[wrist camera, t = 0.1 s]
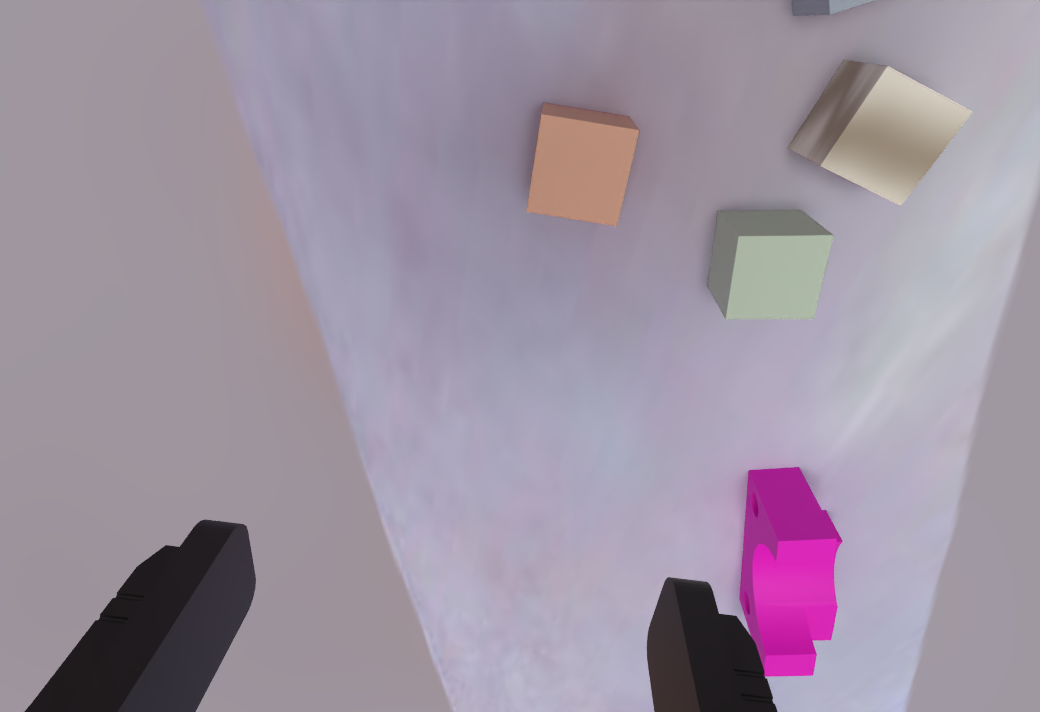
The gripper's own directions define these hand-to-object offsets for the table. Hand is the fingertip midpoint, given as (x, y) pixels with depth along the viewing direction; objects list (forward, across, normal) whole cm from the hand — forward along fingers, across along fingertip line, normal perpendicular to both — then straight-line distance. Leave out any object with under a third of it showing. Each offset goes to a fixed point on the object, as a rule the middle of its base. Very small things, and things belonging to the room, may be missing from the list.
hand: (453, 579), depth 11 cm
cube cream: (+29, -18, -6) cm, 35 cm away
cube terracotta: (+29, -3, -3) cm, 29 cm away
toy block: (+29, -24, +26) cm, 46 cm away
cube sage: (+29, -15, +2) cm, 33 cm away
